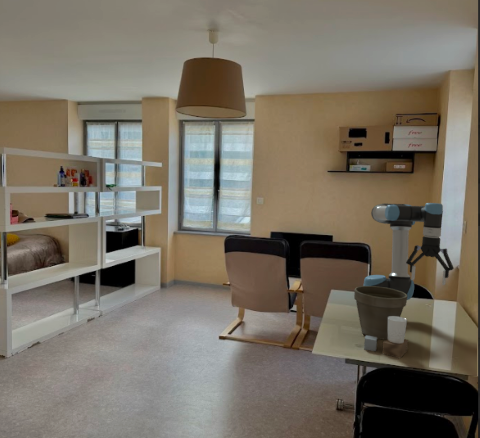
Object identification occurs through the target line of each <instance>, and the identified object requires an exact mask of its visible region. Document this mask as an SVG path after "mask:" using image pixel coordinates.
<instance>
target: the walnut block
mask: <svg viewBox="0 0 480 438" xmlns="http://www.w3.org/2000/svg"><path fill="white" fill-rule="evenodd" d="M408 345H409V340H408V339H406V338H404V343H400V344H398V343H392V342H390V341H388V339H384V341H383V342H382V354H383V355H388V356H391V357H395V358H398V359H401V358H402V357H403V356H404V355H405V354H406V353H407V352H408Z"/></svg>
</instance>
